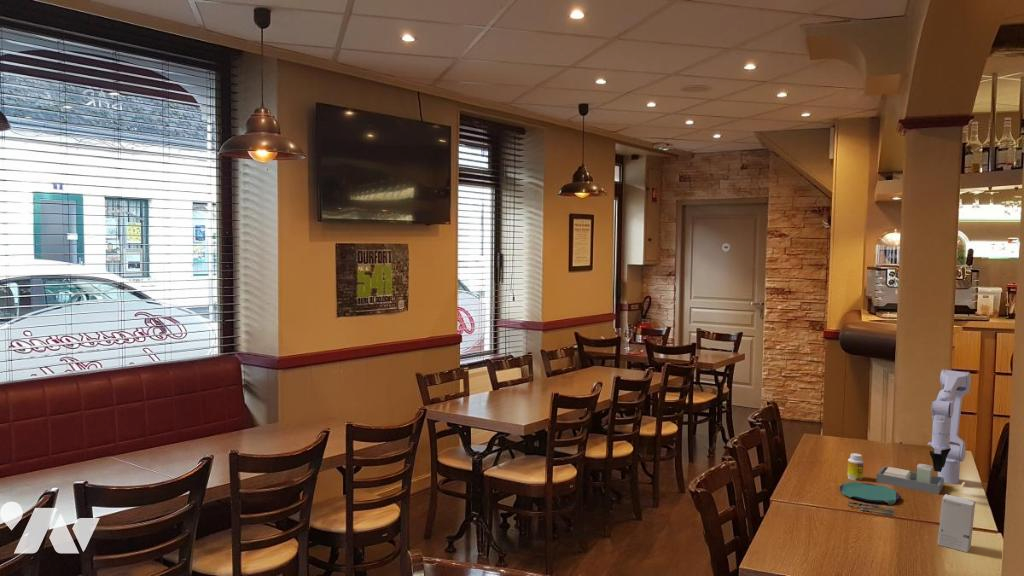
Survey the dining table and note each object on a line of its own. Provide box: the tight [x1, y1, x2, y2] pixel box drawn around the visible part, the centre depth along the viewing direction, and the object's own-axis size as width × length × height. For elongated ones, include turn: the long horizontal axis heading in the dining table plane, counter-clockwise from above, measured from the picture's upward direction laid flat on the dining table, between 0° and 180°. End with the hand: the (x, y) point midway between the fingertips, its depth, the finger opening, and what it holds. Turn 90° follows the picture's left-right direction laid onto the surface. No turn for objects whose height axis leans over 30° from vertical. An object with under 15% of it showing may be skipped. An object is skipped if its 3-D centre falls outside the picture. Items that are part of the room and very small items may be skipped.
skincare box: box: [937, 493, 976, 553], centre depth 217 cm, size 8×6×15 cm
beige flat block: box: [883, 466, 911, 480], centre depth 277 cm, size 9×8×4 cm
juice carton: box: [916, 463, 934, 484], centre depth 272 cm, size 4×4×8 cm
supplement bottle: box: [846, 452, 865, 482], centre depth 280 cm, size 6×6×10 cm
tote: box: [875, 465, 945, 495], centre depth 275 cm, size 13×21×4 cm, turn 52°
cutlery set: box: [839, 481, 901, 517], centre depth 258 cm, size 20×30×2 cm, turn 152°
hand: (939, 468), depth 264 cm, fingers open, 7 cm apart
